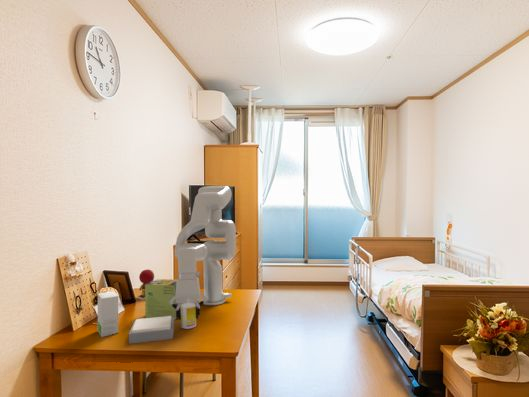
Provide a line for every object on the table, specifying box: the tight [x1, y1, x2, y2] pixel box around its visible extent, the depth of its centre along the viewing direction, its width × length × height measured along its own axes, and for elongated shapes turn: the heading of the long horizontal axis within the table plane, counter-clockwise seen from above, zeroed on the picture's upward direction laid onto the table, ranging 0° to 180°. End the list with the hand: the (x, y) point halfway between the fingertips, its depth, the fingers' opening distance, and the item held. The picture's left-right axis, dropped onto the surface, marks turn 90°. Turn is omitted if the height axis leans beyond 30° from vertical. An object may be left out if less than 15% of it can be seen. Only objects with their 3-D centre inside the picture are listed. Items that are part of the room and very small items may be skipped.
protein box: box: [144, 278, 179, 321], centre depth 155 cm, size 10×15×16 cm
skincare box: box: [97, 290, 119, 338], centre depth 136 cm, size 8×7×16 cm
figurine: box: [136, 269, 155, 301], centre depth 183 cm, size 9×10×15 cm
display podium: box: [128, 316, 175, 345], centre depth 133 cm, size 16×14×4 cm
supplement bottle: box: [179, 299, 198, 330], centre depth 140 cm, size 7×7×13 cm
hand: (188, 317), depth 140 cm, fingers closed on supplement bottle, 6 cm apart
